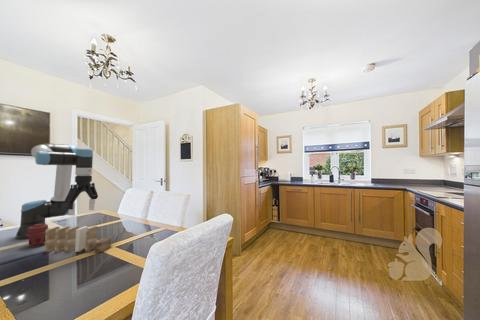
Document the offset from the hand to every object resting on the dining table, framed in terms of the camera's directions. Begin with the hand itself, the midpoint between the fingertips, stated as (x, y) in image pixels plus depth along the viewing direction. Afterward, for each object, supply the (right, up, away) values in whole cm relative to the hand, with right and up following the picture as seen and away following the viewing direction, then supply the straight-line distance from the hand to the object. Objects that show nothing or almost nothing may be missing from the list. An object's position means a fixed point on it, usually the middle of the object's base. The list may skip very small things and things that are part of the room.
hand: (82, 212), depth 109 cm
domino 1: (-16, -21, -1) cm, 26 cm away
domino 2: (-11, -21, -1) cm, 23 cm away
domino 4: (0, -21, -1) cm, 21 cm away
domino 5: (+6, -21, -1) cm, 21 cm away
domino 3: (-5, -21, -1) cm, 21 cm away
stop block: (+12, -21, -1) cm, 24 cm away
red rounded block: (-31, -21, +5) cm, 38 cm away
